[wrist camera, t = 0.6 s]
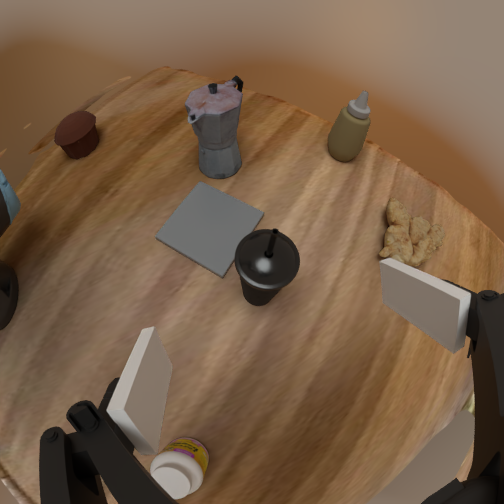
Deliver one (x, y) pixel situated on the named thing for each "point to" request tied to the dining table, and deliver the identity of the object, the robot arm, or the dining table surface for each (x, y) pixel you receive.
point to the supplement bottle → (180, 467)
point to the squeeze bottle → (350, 129)
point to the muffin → (77, 134)
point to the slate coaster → (209, 227)
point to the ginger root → (409, 236)
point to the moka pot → (217, 126)
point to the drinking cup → (265, 264)
